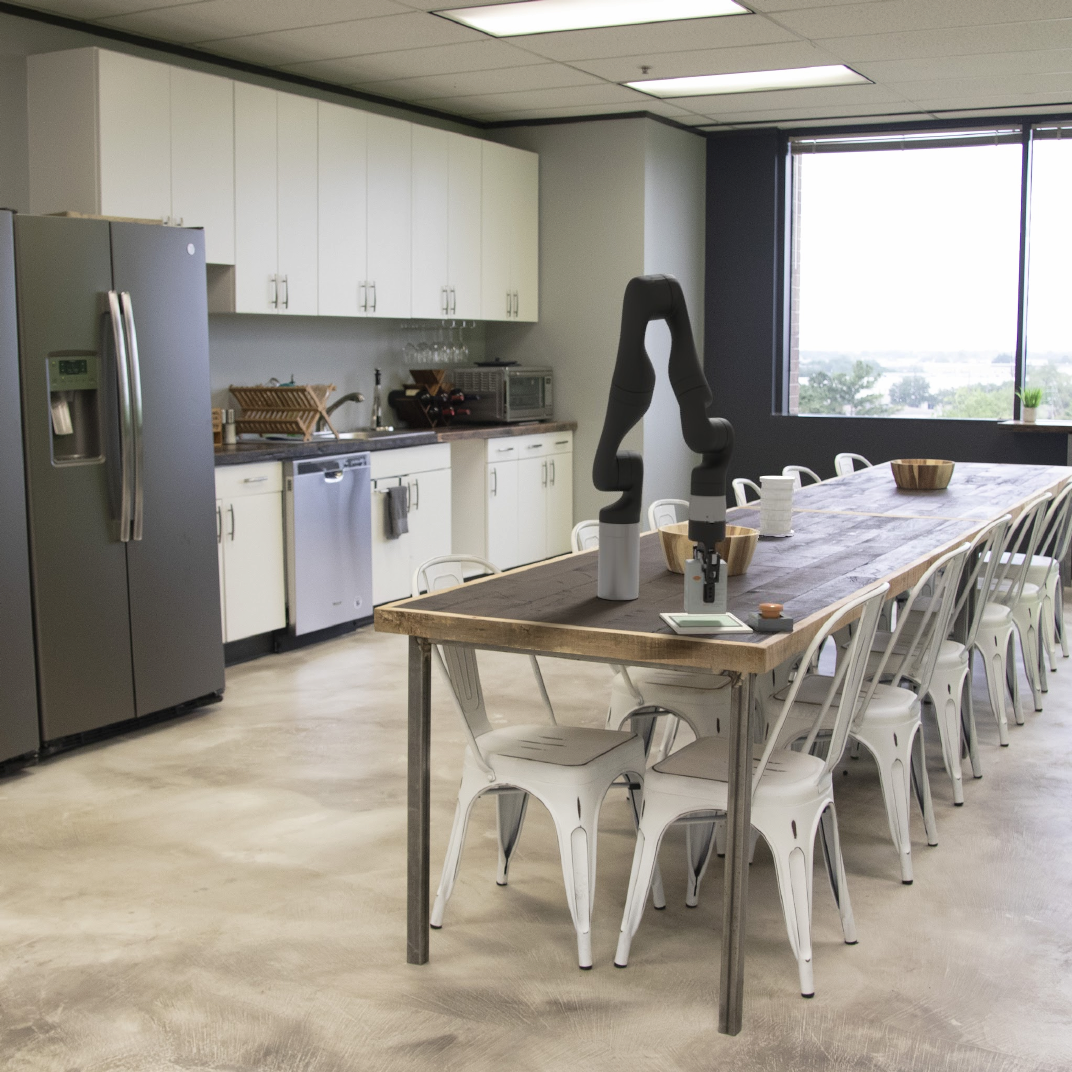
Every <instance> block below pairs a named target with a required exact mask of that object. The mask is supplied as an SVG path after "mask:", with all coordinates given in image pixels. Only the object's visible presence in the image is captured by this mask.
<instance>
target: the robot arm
mask: <svg viewBox="0 0 1072 1072" xmlns="http://www.w3.org/2000/svg"><path fill="white" fill-rule="evenodd" d="M659 320H664V321H665V323H666V325H667V327H668V330H669V333H670V338H671V339H670V340H671V342H670V352H669V357H668V358H669V359H668V366H667V374H668V380H669V383H670V386H671V388H672V392H673V394H674V397H675V399H676V401H677V404H678V407H679V419H680V424H681V425H680V426H681V432H682V438H683V440H684V443H685V445H686V446H687V447H688V448H689V450H690V451H692V452H693V453H696V454H699V455H702V454H703V457H702V460H701V463H699V464H697V465H696V466H695V467H693V468H692V470H691V473H690V492H689V493H690V495H689V503H688V522H687V523H688V525H687V526H688V529H687V530H688V531H687V539H688V540H689V541H690V542H693V543H694V542H695V543H697V544H693V545H692V559H695V560H699V562H700V563H701V573H703V583H704V584H703V601H704V602H705V603H713V602H714V601H715V584H716V583H718V582H719V571H720V559H721V558H722V556H721V553H719V551H718V550H717V546H716V544H717V543H722V542H725V540H726V534H727V499H726V498H727V497H726V493H727V492H726V490H727V473H728V470H729V467H730V463H731V459H732V456H733V452H734V448H735V440H736V439H735V437H736V436H735V430H734V427H733V425H732V424H731V423H730V422H729V420H727V419H726V418H722V417H709V416H708V414H707V408H708V407H710V405H712V402H713V400H714V398H713V392H712V390H711V387H710V385H709V382H708V380H707V377H706V375H705V372H704V370H703V367H702V365H701V362H700V358H699V355H698V352H697V347H696V344H695V338H694V335H693V328H692V325H691V320H690V315H689V311H688V307H687V301H686V298H685V294H684V291H683V288H682V286H681V283H680V281H679V280H678V278H677V277H676V276H675V275H673V274H672V273H671V274H670V273H656V274H655V273H653V274H647V275H637V276H635V277H633V278H631V279H630V280H629V282H628V283H627V285H626V286H625V291H624V295H623V301H622V311H621V322H620V332H619V333H620V334H619V342H618V347H617V352H616V360H615V364H614V369H613V373H612V379H611V382H610V388H609V393H608V400H607V406H606V413H605V418H604V423H603V426H602V431H601V434H600V437H599V441H598V444H597V448H596V452H595V455H594V459H593V464H592V471H591V472H592V473H591V474H592V475H591V477H592V485H593V486H594V488H595V489H596V490H597V491H599V492H605V493H607V492H608V493H609V492H611V493H613V492H615V493H616V492H618V493H619V492H622V495H621V497H620V498H619V499H618V500H616V501H614V502H613V503H610V504H608V505H606V506H603V507H602V508H600V509H599V512H598V554H597V555H598V556H597V557H598V559H597V560H598V561H597V562H598V563H597V564H598V566H597V597H598V598H599V599H603V600H611V601H630V600H636V599H637V598H639V589H640V587H639V584H640V583H639V582H640V546H641V545H640V544H641V543H640V541H641V540H640V538H641V536H640V535H641V512H642V506H643V505H642V502H643V486H644V474H645V472H644V471H645V468H644V466H645V465H644V460H643V456H642V455H641V453H640V452H639V451H637V450H632V449H628V450H627V449H626V450H625V449H624V450H623V449H622V450H620V449H619V447H620V445H621V444H622V441H623V440H624V438H625V437H626V436H627V434H628V433H630V431H631V430H632V429H633V427H635V426H636V425H637V424H638V422H640V420H641V419H642V418H643V417H644V416H645V415H646V413H647V412H648V410H649V409H650V407H651V405H652V399H653V396H654V390H655V386H656V379H657V378H656V371H655V368H654V366H653V363H652V361H651V358H650V356H649V353H648V351H647V349H646V340H645V339H646V332H647V327H648V324H649V322H651V321H659ZM703 563H704V564H706V568H704V564H703ZM710 573H712V574H713V577H709V576H710Z"/></svg>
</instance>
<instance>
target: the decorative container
mask: <svg viewBox="0 0 1072 1072" xmlns="http://www.w3.org/2000/svg"><path fill="white" fill-rule="evenodd" d="M759 482H761V487H760V493H761V494H760V499H759V502H760V508H759V513H760V518H759V520H758V522H759V523H760V527H759V529H757V530H759V531H760V535H761V534H770V535H781V534H792V533H794V534H795V531H794V530H792V524H793V518H792V517H793V516H792V515H793V512H794V511H793V503H794V498H793V494H794V486H793V485H794V483H795V482H796V477H795V476H786V475H784V476H783V475H763V476H759Z"/></svg>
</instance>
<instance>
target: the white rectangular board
mask: <svg viewBox="0 0 1072 1072" xmlns="http://www.w3.org/2000/svg"><path fill="white" fill-rule="evenodd" d="M659 617H660V618H661V619H662V620H663V621H664V622H665V623H666V624H667V625H668V626H670V628H671V629H672V630H673V631H675V632H676V634H678V635H697V634H698V635H703V634H704V635H706V634H710V635H713V634H717V635H718V634H719V635H720V634H754V630H753V629H752V627H751V626H749V625H747V624H746V623H744V622H743V621H742V620H741V619H739V618H737V616H735V615H734V614H732V613H731V612H728V611H726V614H688V613H687V612H669V613H668V612H664V613H663V612H662V613H661V612H659Z"/></svg>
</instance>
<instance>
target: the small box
mask: <svg viewBox="0 0 1072 1072" xmlns="http://www.w3.org/2000/svg"><path fill="white" fill-rule="evenodd" d="M703 564H704V563H703ZM704 568H706V564H704ZM709 577H713V574H712V573H710V576H709ZM683 581H684V584H683V585H684V589H683V590H684V592H683V610H685V613H688V614H726V612H727V609H728V608H727V606H728V605H727V599H728V563H727V562H726V561H725V560H724V559H723V558H722V559H721V558H720V571H719V582H718V583H716V584H715V601H714V602H713V603H705V602H704V601H703V584H704V583H703V573H701V563H700V562H699V560H695V559H693V558H692V559H689V558H688V559H685V560H684V579H683Z"/></svg>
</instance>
